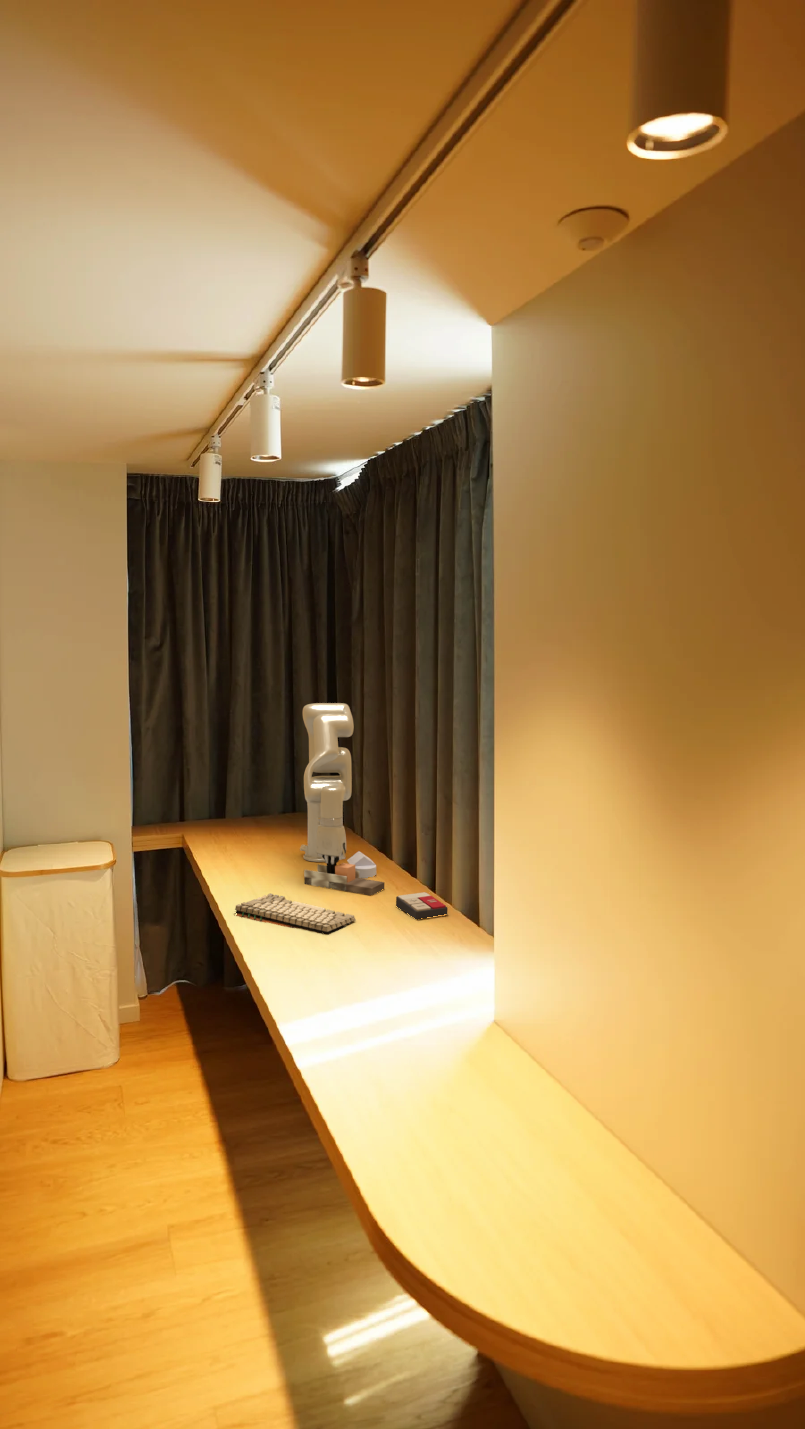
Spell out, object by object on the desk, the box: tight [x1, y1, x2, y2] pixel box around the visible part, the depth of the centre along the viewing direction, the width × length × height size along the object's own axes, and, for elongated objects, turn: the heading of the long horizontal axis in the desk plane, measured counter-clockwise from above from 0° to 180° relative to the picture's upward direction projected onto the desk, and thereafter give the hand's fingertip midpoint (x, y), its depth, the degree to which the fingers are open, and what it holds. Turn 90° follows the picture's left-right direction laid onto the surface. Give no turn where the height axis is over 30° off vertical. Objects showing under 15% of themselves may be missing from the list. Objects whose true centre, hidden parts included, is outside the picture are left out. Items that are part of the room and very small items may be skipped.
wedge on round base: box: [346, 850, 377, 879], centre depth 348 cm, size 9×7×13 cm
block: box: [335, 862, 355, 883], centre depth 330 cm, size 5×5×5 cm
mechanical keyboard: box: [234, 893, 356, 936], centre depth 297 cm, size 38×19×3 cm, turn 58°
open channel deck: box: [303, 864, 385, 896], centre depth 330 cm, size 27×9×5 cm, turn 61°
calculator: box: [395, 891, 449, 920], centre depth 304 cm, size 11×4×15 cm
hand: (331, 874), depth 333 cm, fingers closed
